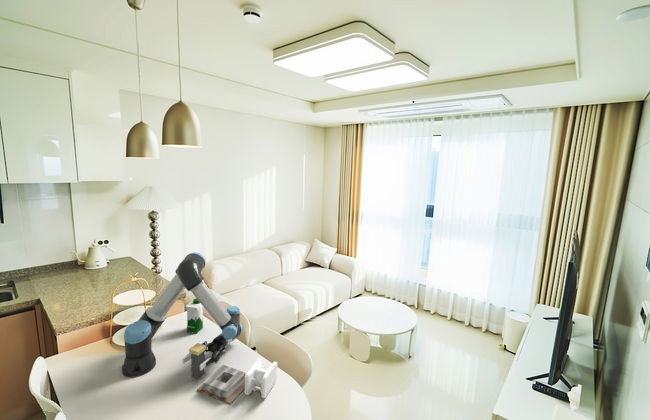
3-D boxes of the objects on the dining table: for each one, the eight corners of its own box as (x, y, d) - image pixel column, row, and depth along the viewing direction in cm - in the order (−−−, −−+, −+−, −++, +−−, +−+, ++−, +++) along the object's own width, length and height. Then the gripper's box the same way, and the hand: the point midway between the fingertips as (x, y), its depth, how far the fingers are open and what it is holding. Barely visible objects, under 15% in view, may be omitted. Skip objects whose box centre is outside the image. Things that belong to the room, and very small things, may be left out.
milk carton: (205, 327, 195) (204, 298, 192) (196, 334, 186) (196, 305, 183) (192, 325, 196) (192, 297, 193) (184, 332, 187) (183, 303, 184)
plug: (189, 377, 149) (189, 348, 147) (198, 370, 155) (197, 342, 152) (198, 381, 147) (197, 351, 145) (206, 373, 153) (206, 345, 150)
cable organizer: (263, 403, 136) (264, 380, 134) (243, 397, 139) (243, 375, 137) (277, 381, 150) (278, 360, 149) (258, 376, 153) (259, 355, 151)
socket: (196, 390, 141) (196, 381, 140) (219, 370, 156) (219, 361, 155) (230, 404, 134) (230, 395, 133) (251, 381, 149) (251, 373, 148)
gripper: (238, 352, 163) (209, 378, 142) (206, 341, 171) (174, 364, 150) (238, 340, 162) (209, 364, 141) (206, 329, 170) (174, 351, 149)
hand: (191, 364), depth 146 cm, fingers open, 10 cm apart
